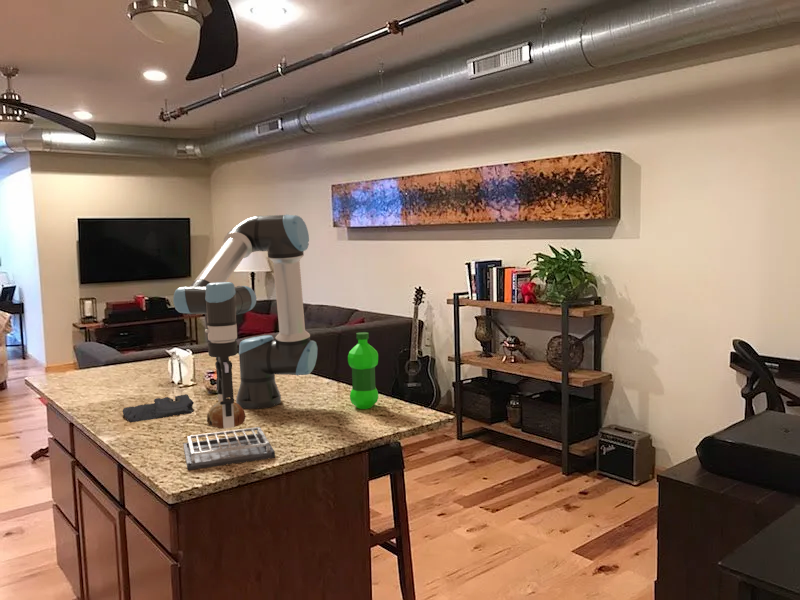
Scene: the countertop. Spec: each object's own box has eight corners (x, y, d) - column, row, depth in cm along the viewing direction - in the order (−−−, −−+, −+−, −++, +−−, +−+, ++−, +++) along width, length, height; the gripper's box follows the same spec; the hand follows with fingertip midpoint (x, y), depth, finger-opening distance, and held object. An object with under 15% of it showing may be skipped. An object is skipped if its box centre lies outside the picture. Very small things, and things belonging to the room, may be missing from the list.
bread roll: (206, 435, 181) (193, 412, 178) (235, 412, 187) (223, 389, 184) (226, 442, 174) (213, 418, 171) (256, 418, 181) (244, 394, 177)
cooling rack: (183, 448, 185) (182, 435, 184) (263, 438, 193) (263, 425, 192) (187, 470, 168) (186, 455, 168) (275, 457, 176) (274, 443, 176)
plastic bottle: (379, 402, 230) (377, 330, 227) (379, 410, 219) (377, 335, 217) (350, 403, 229) (348, 331, 227) (348, 411, 219) (346, 336, 216)
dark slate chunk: (119, 414, 224) (118, 400, 223) (186, 403, 235) (185, 390, 235) (128, 425, 211) (127, 410, 210) (198, 413, 222) (197, 399, 222)
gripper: (204, 335, 186) (208, 413, 189) (212, 348, 165) (216, 435, 168) (231, 333, 189) (235, 410, 191) (242, 346, 168) (246, 432, 170)
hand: (226, 422), depth 179 cm, fingers closed on bread roll, 10 cm apart
